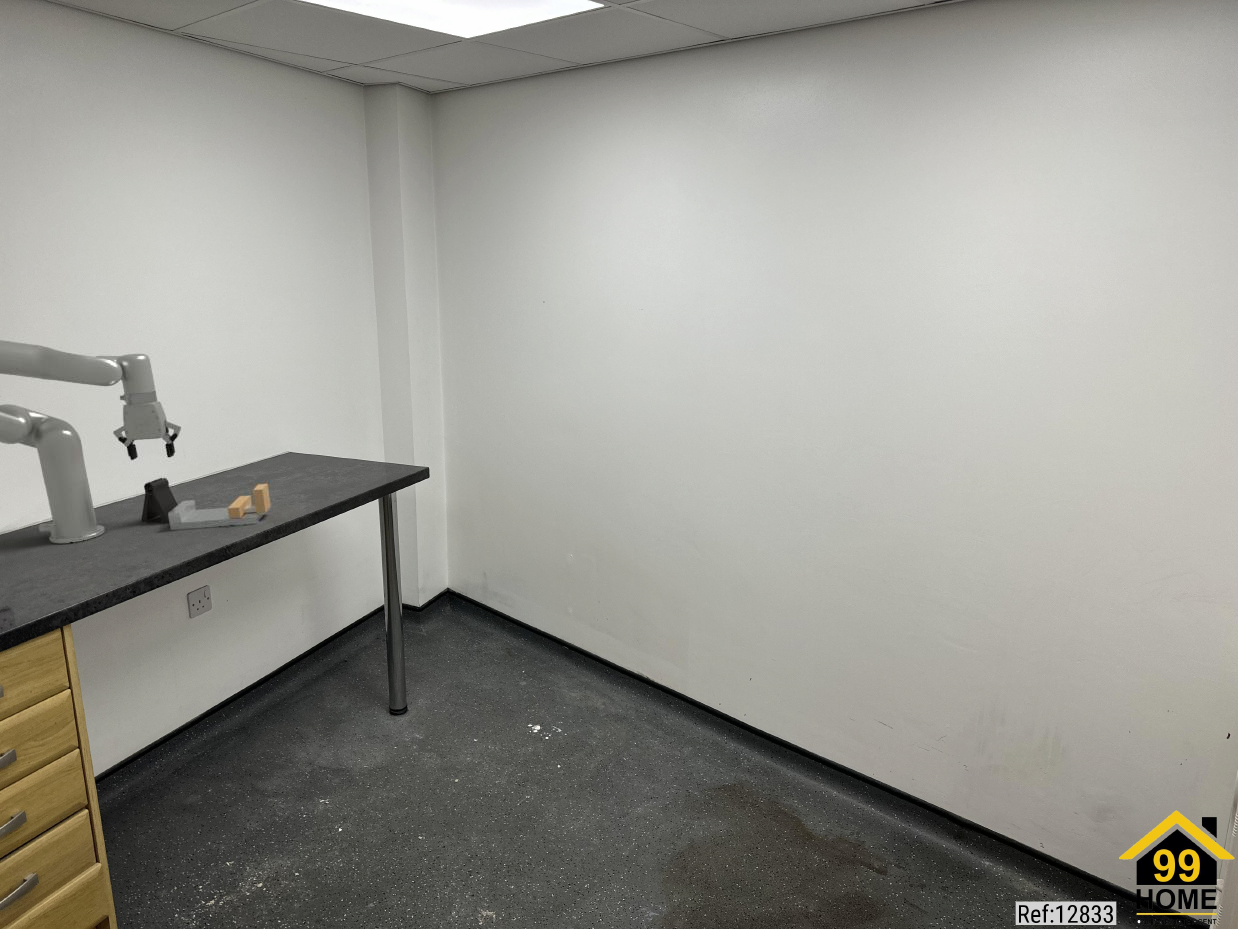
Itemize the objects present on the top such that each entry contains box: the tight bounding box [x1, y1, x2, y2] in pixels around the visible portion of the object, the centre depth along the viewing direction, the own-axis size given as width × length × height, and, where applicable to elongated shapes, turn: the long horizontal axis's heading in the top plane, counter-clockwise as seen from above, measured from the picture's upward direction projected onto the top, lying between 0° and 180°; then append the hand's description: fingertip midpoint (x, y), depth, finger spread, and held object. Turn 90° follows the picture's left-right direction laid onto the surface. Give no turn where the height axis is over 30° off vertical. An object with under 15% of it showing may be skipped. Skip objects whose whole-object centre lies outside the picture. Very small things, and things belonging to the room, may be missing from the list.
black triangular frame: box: [141, 477, 179, 525], centre depth 223 cm, size 9×6×12 cm, turn 79°
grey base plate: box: [169, 507, 266, 531], centre depth 223 cm, size 22×12×2 cm, turn 101°
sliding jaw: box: [227, 483, 272, 518], centre depth 223 cm, size 9×12×7 cm
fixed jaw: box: [168, 499, 197, 524], centre depth 220 cm, size 3×12×3 cm, turn 11°
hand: (152, 457), depth 220 cm, fingers open, 9 cm apart
